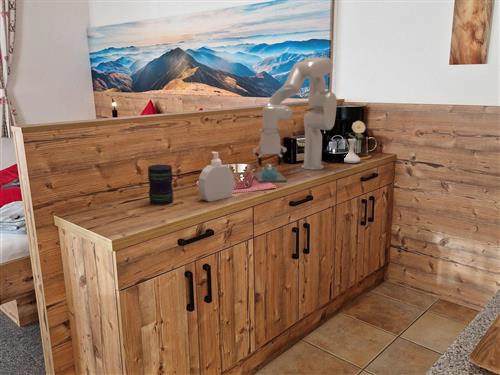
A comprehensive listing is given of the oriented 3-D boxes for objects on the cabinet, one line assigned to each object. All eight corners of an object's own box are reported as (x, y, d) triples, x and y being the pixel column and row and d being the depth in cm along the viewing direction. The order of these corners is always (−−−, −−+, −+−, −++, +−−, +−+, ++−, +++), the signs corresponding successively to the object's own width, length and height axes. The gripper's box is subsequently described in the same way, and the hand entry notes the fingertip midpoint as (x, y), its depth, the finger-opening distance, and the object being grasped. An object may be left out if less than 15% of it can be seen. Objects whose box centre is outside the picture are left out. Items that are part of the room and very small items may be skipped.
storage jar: (147, 200, 196) (145, 165, 192) (170, 198, 199) (169, 163, 196) (151, 206, 187) (149, 170, 183) (175, 204, 190) (174, 168, 187)
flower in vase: (340, 163, 275) (342, 121, 269) (342, 160, 285) (344, 119, 279) (362, 165, 271) (365, 122, 265) (363, 161, 282) (366, 120, 276)
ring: (261, 174, 240) (261, 167, 239) (274, 174, 241) (274, 166, 240) (263, 177, 233) (263, 170, 232) (277, 177, 234) (277, 169, 233)
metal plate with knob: (252, 174, 246) (252, 161, 244) (278, 173, 248) (279, 160, 246) (259, 183, 227) (259, 168, 225) (287, 182, 229) (287, 168, 227)
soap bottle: (227, 194, 206) (227, 149, 201) (234, 196, 202) (234, 151, 197) (197, 200, 196) (196, 153, 191) (204, 202, 192) (203, 155, 188)
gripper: (254, 132, 227) (253, 166, 231) (288, 131, 229) (287, 165, 233) (251, 130, 234) (251, 164, 238) (285, 130, 236) (284, 163, 240)
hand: (269, 164), depth 236 cm, fingers open, 9 cm apart
